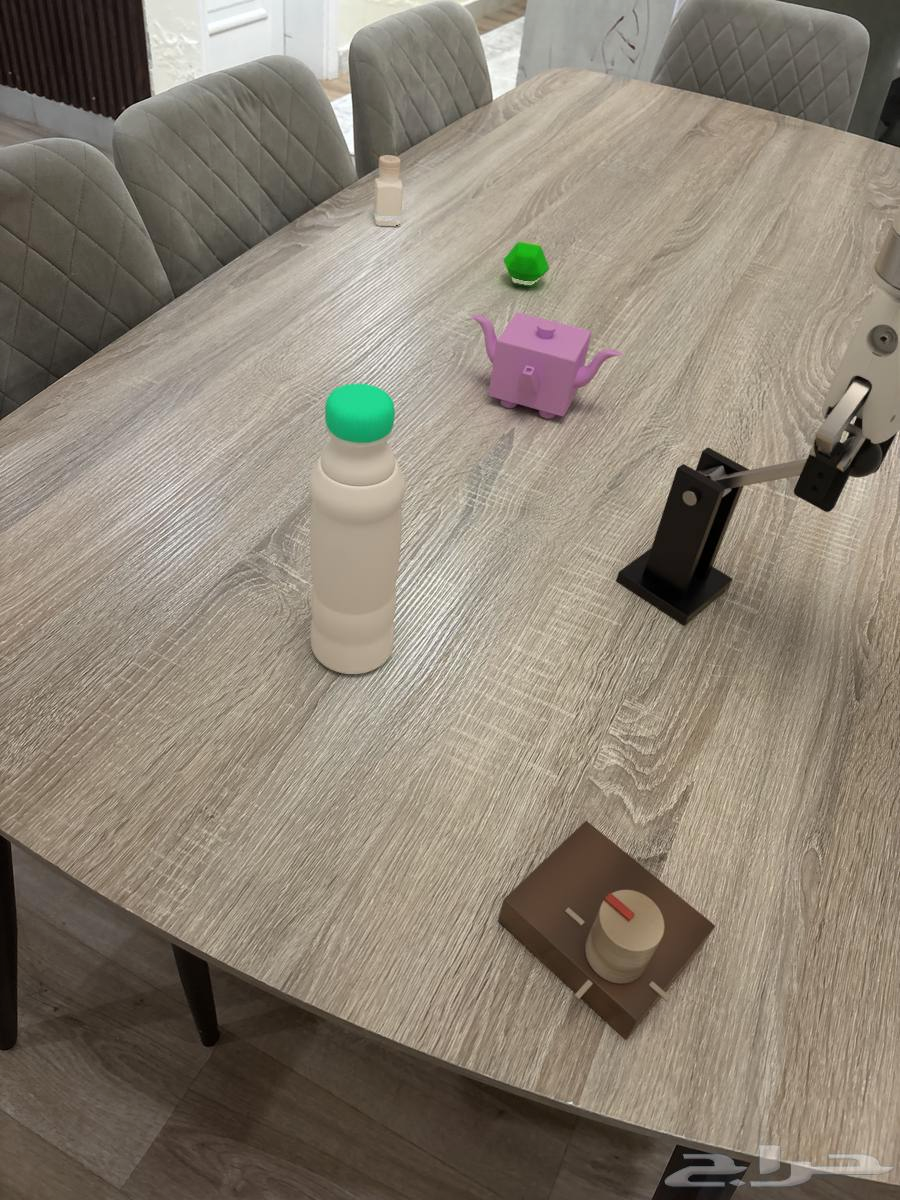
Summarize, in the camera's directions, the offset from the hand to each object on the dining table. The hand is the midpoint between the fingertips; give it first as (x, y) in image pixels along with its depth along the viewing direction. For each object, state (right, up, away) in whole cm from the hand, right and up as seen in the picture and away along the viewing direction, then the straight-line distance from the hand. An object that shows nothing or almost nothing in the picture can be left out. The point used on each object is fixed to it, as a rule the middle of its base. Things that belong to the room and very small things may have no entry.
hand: (836, 481), depth 74 cm
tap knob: (-20, -32, -14) cm, 40 cm away
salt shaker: (-40, +49, +72) cm, 97 cm away
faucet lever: (-3, 0, +4) cm, 4 cm away
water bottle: (-39, -14, +7) cm, 42 cm away
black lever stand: (-9, -8, +17) cm, 21 cm away
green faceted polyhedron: (-20, +37, +62) cm, 75 cm away
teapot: (-21, +14, +39) cm, 46 cm away
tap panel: (-20, -32, -10) cm, 39 cm away
